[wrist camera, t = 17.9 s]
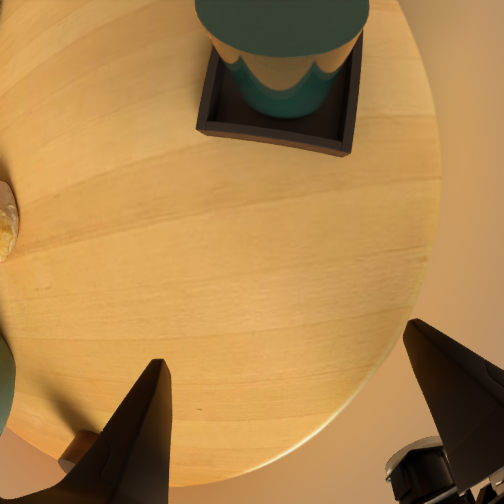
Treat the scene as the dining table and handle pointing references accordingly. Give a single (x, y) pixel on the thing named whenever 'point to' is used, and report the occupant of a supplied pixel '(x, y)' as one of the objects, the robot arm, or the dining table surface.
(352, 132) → the dark square tray
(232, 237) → the dining table surface
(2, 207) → the bread roll
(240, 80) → the teal cylinder
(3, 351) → the teal bowl
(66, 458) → the stand
